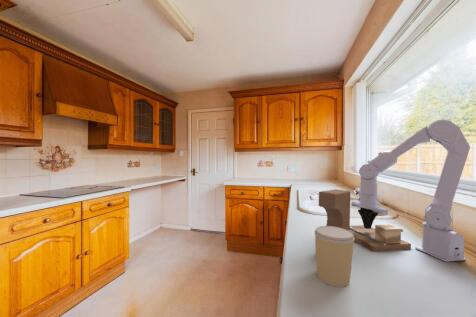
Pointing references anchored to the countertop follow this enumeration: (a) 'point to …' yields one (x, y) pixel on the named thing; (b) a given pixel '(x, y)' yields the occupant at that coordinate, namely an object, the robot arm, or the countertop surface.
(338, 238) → the coffee cup
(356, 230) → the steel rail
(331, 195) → the decorative block
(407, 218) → the countertop surface
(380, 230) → the beige peg block
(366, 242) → the walnut board
